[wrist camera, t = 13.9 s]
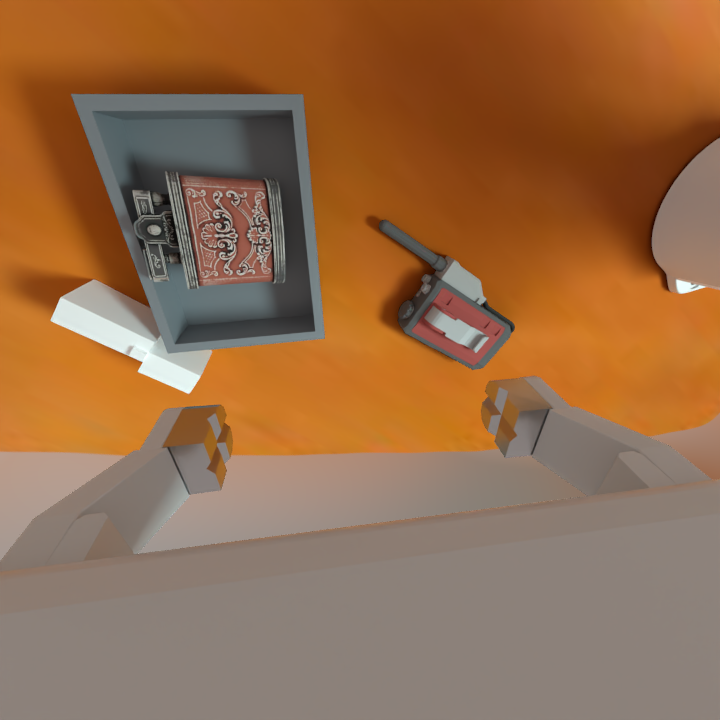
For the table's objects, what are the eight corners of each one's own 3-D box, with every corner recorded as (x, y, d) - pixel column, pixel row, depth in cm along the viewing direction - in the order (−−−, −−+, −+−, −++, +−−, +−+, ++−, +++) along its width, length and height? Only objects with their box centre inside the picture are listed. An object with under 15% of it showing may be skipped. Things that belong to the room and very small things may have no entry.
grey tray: (302, 107, 25) (303, 94, 21) (321, 317, 34) (324, 338, 30) (111, 107, 23) (70, 94, 19) (184, 329, 32) (167, 353, 28)
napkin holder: (46, 274, 28) (-6, 296, 24) (172, 240, 29) (147, 254, 24) (143, 403, 36) (119, 439, 31) (242, 375, 37) (234, 406, 32)
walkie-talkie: (520, 308, 38) (383, 209, 30) (544, 323, 34) (395, 215, 27) (471, 365, 41) (335, 289, 33) (489, 385, 37) (340, 305, 30)
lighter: (269, 179, 27) (124, 170, 22) (280, 177, 24) (116, 166, 20) (277, 278, 30) (152, 286, 26) (287, 286, 27) (149, 296, 23)
